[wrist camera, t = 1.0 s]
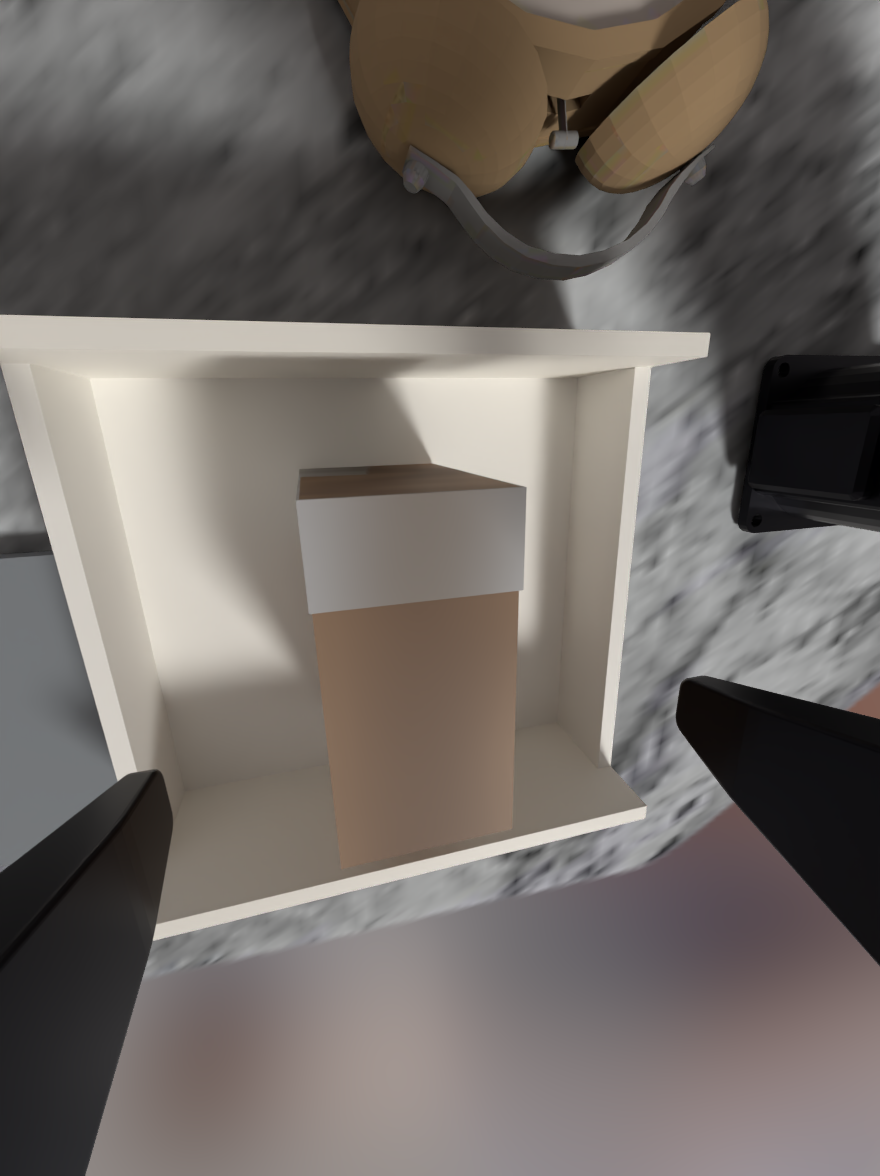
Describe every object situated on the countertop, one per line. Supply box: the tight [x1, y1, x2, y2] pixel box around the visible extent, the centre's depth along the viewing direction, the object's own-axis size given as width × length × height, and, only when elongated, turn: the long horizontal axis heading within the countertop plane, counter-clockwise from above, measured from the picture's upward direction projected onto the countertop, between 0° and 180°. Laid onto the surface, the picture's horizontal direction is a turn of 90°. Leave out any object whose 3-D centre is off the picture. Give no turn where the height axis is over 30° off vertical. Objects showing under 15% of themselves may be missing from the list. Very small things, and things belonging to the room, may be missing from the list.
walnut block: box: [296, 463, 527, 869], centre depth 13 cm, size 4×8×7 cm, turn 2°
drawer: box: [0, 315, 710, 941], centre depth 14 cm, size 15×14×6 cm
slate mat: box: [0, 551, 118, 867], centre depth 15 cm, size 7×10×1 cm
